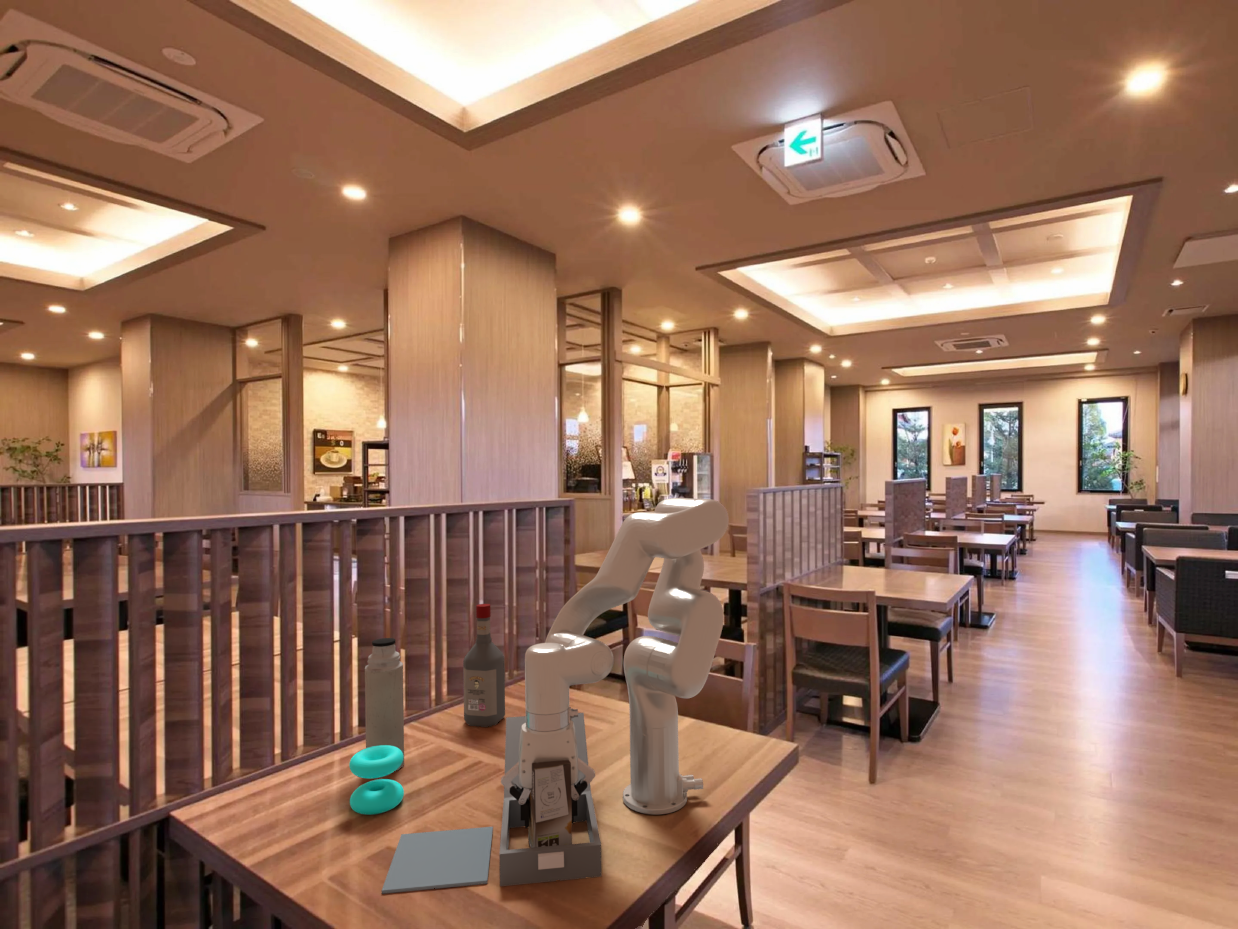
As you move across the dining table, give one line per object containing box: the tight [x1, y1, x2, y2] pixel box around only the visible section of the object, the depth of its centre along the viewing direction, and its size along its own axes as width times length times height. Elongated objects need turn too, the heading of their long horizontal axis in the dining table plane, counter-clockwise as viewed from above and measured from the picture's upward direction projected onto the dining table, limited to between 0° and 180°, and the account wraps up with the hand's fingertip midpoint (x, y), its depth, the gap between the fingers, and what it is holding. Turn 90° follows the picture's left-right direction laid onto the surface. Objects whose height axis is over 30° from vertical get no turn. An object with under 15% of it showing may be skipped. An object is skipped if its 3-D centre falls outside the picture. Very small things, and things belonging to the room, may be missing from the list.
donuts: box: [348, 745, 405, 816], centre depth 130 cm, size 10×10×10 cm
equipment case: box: [498, 790, 603, 887], centre depth 113 cm, size 16×19×5 cm
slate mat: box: [381, 826, 494, 894], centre depth 111 cm, size 16×16×1 cm
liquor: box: [462, 603, 506, 728], centre depth 173 cm, size 9×9×30 cm
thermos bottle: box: [364, 637, 405, 771], centre depth 147 cm, size 8×8×28 cm
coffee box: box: [527, 760, 573, 848], centre depth 114 cm, size 9×6×16 cm
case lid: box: [503, 712, 592, 799], centre depth 131 cm, size 16×18×1 cm
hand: (549, 821), depth 114 cm, fingers closed on coffee box, 7 cm apart
